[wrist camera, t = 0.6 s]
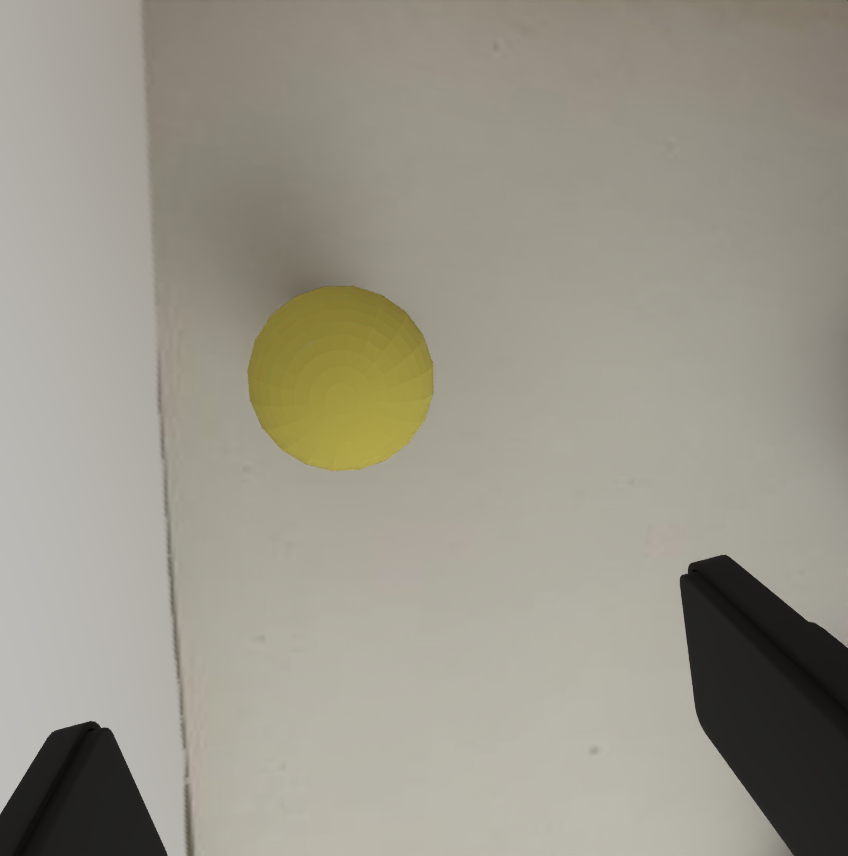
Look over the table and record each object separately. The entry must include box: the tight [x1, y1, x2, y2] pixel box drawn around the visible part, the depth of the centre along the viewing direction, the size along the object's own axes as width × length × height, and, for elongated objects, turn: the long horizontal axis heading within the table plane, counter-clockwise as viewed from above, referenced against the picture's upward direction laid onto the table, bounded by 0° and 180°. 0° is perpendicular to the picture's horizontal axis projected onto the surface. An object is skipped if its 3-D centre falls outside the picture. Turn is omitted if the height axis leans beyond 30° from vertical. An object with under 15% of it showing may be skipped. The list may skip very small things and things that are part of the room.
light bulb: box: [248, 286, 433, 471], centre depth 25 cm, size 7×7×10 cm
